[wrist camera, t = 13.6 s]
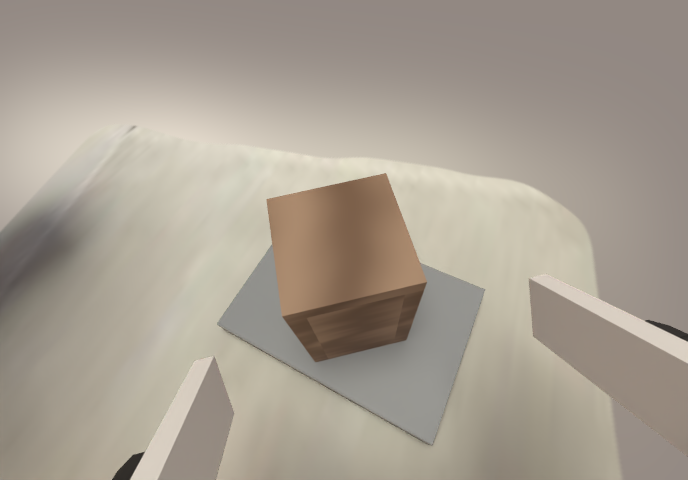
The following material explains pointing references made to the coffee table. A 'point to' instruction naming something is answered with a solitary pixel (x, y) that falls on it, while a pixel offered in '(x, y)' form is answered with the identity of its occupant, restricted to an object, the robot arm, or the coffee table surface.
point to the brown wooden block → (345, 267)
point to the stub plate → (377, 363)
